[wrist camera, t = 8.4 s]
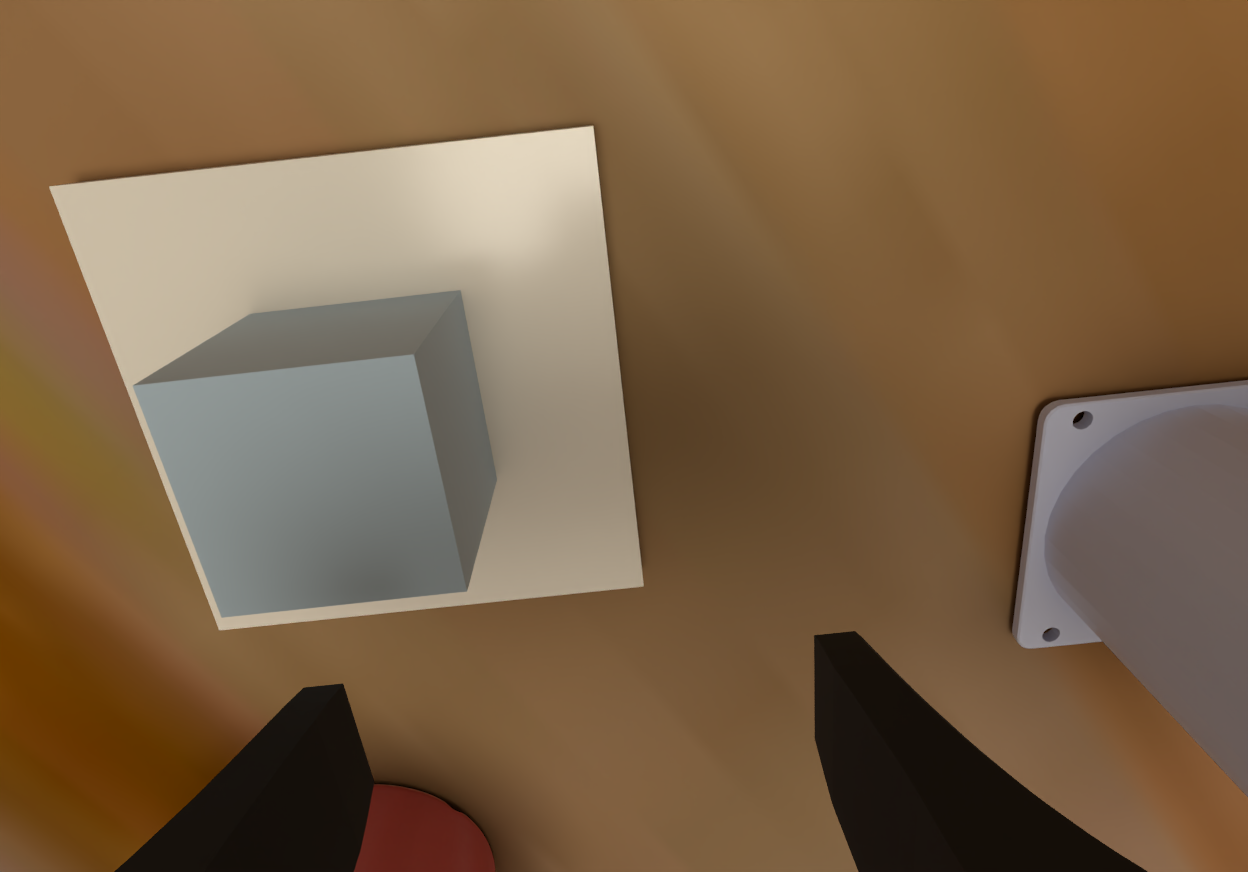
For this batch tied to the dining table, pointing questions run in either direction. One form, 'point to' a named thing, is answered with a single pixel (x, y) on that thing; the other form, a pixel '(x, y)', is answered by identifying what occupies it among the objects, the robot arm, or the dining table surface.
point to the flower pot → (420, 835)
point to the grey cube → (328, 453)
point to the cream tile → (396, 267)
